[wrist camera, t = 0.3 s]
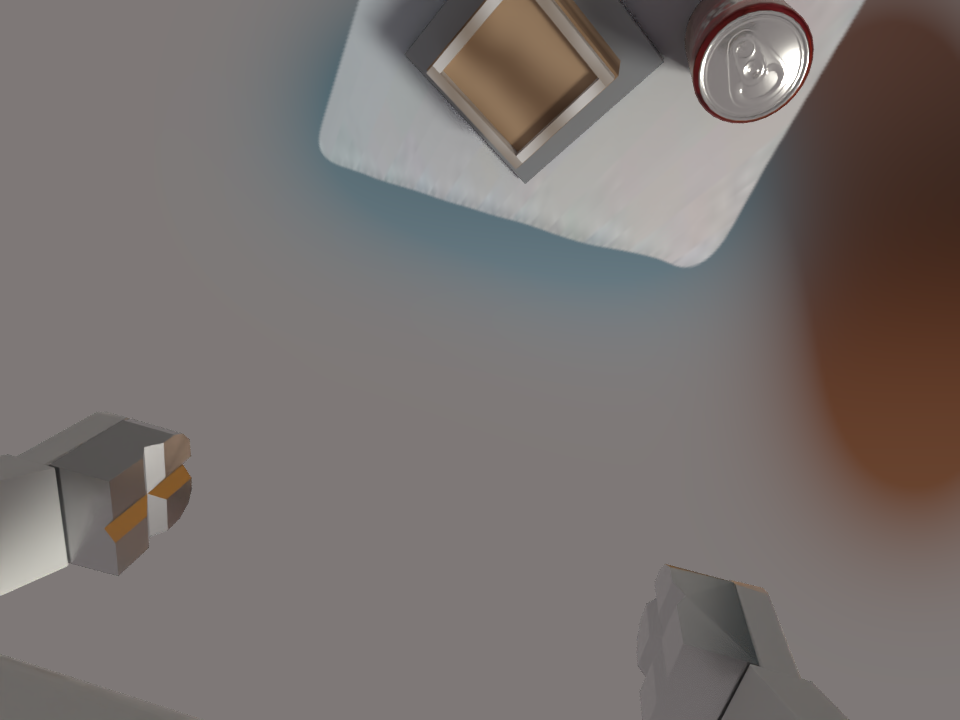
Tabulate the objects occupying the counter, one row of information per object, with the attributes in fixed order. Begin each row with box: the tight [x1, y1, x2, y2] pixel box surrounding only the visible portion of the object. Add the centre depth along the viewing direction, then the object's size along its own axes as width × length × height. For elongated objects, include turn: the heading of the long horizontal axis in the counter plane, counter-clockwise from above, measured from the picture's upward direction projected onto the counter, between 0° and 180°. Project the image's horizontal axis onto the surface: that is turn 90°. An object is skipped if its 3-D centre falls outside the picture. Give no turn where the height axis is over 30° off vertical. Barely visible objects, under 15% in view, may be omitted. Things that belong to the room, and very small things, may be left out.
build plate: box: [405, 0, 664, 184], centre depth 50 cm, size 16×16×1 cm
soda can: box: [685, 0, 814, 123], centre depth 42 cm, size 7×7×12 cm
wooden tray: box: [427, 0, 620, 169], centre depth 48 cm, size 11×11×6 cm
